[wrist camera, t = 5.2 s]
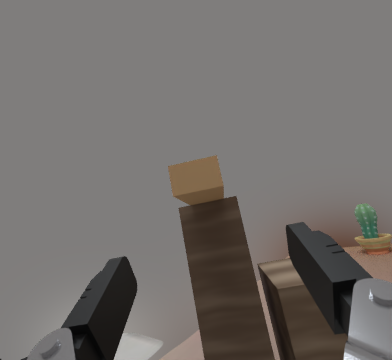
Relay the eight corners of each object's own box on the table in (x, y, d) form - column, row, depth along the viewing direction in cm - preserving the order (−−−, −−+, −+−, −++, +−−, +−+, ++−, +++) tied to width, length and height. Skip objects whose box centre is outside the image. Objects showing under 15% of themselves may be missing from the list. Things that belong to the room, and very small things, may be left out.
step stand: (437, 559, 17) (314, 179, 24) (240, 569, 18) (178, 207, 25) (342, 409, 31) (281, 195, 38) (233, 422, 32) (194, 213, 39)
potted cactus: (406, 250, 102) (386, 199, 108) (382, 257, 99) (362, 204, 104) (374, 248, 117) (358, 203, 122) (352, 254, 113) (336, 208, 119)
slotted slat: (223, 185, 16) (216, 155, 17) (173, 196, 17) (168, 166, 17) (223, 207, 40) (220, 194, 40) (202, 211, 40) (200, 198, 40)
